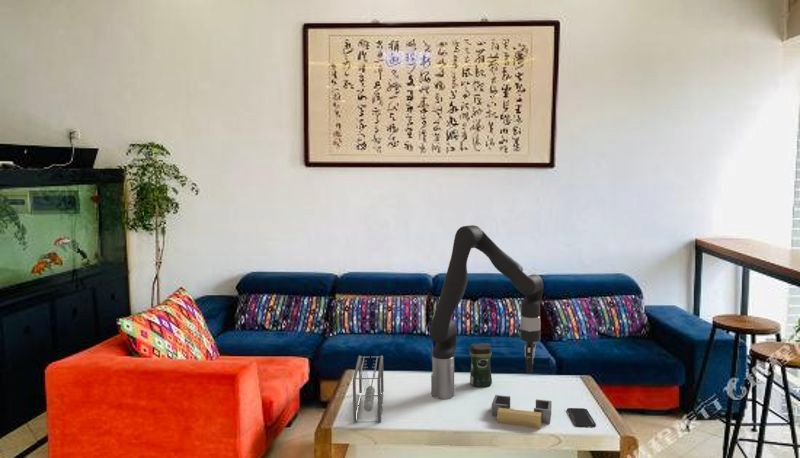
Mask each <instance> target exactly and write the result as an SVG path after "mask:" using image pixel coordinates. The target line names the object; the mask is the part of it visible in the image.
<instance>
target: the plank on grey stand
mask: <svg viewBox="0 0 800 458" xmlns="http://www.w3.org/2000/svg"><path fill="white" fill-rule="evenodd" d="M552 402H553V401H552V400H546V399H537V398H536V399H535V407H534V408H533V412H541V413H542V418H541V424H542V423H543V424H544V423H545V424H551V420H552V409H553V408H552V404H553V403H552ZM498 408H506V409H511V396H510V395H499V394H495V395H494V397H493V400H492V402H491V417H494V418H497V411H498Z"/></svg>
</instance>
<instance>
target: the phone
mask: <svg viewBox="0 0 800 458" xmlns="http://www.w3.org/2000/svg"><path fill="white" fill-rule="evenodd" d="M566 412H567V414H568V416H569V418H570V419H571V422H572V423H573V426H575V427H577V428H595V427H597V423H596V422H595V420H594V419H593V417H592V416H591V414H590V411H588V409H587V408H585V407H584V408H583V407H581V408H580V407H575V408H574V407H567V409H566Z"/></svg>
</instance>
